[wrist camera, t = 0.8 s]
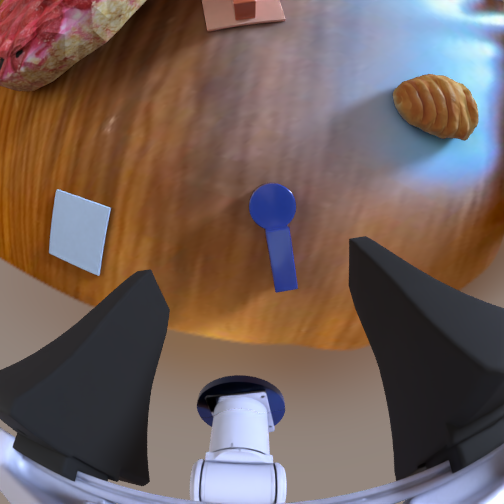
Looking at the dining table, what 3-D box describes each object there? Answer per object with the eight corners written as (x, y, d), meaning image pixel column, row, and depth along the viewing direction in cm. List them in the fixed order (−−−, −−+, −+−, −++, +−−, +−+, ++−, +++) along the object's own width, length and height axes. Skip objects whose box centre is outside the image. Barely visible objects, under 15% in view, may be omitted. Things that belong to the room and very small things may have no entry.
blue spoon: (302, 273, 24) (309, 286, 22) (263, 280, 25) (264, 295, 22) (288, 179, 22) (294, 180, 19) (245, 186, 22) (244, 188, 19)
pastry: (397, 139, 21) (419, 136, 17) (382, 72, 19) (400, 59, 15) (463, 140, 20) (486, 139, 17) (451, 82, 19) (472, 74, 15)
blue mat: (111, 207, 23) (109, 208, 22) (99, 274, 24) (98, 275, 24) (58, 189, 22) (56, 189, 22) (50, 252, 24) (48, 253, 23)
